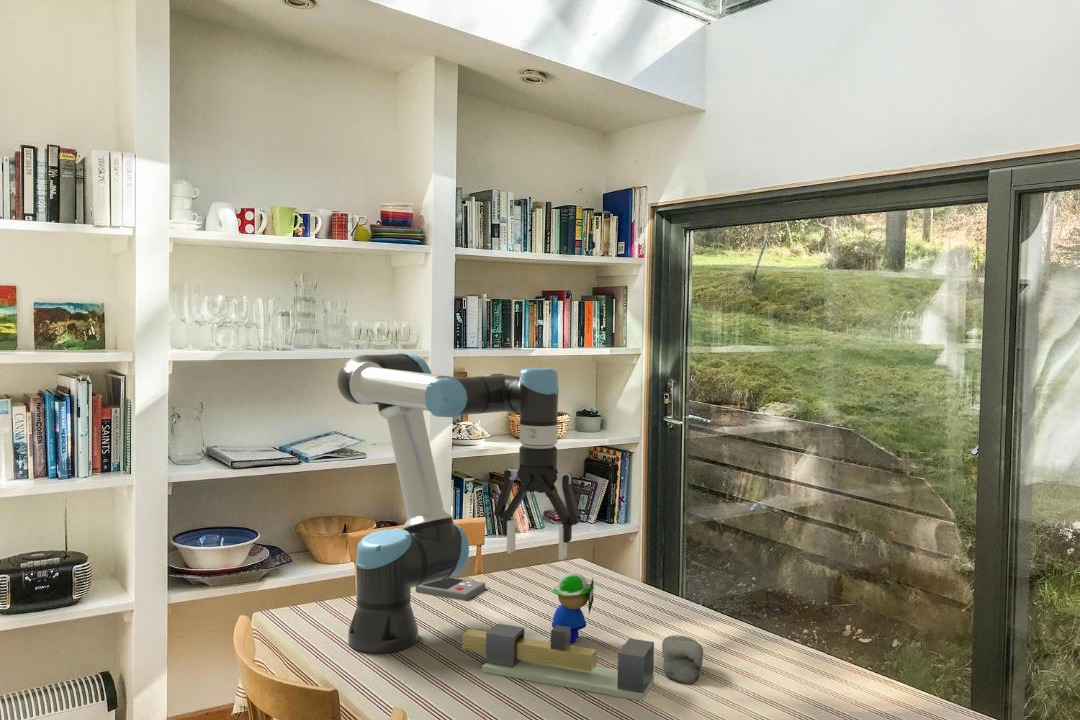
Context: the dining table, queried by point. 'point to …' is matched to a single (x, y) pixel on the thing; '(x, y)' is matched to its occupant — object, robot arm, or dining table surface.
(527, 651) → the sliding bolt
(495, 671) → the base plank
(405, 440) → the robot arm
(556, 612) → the toy
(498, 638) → the guide sleeve
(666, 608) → the dining table surface
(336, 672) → the dining table surface
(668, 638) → the stone
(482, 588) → the electronic device
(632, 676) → the socket block
